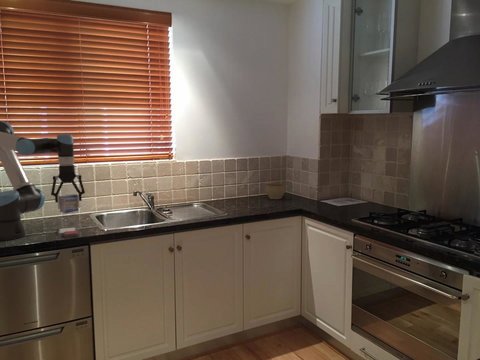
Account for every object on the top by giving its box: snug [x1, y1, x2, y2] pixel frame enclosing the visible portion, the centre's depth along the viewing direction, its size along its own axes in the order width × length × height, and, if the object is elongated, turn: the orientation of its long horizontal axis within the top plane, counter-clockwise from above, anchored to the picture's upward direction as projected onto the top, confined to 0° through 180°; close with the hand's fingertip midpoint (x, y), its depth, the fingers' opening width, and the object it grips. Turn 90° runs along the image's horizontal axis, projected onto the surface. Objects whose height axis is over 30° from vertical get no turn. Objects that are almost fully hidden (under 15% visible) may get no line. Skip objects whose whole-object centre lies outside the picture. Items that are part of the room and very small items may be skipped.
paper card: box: [57, 225, 78, 235], centre depth 227 cm, size 10×13×1 cm
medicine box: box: [58, 193, 79, 214], centre depth 216 cm, size 8×4×9 cm, turn 145°
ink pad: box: [63, 229, 79, 238], centre depth 218 cm, size 7×7×2 cm
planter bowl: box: [264, 182, 287, 200], centre depth 317 cm, size 16×16×11 cm
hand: (69, 207), depth 216 cm, fingers closed on medicine box, 9 cm apart
